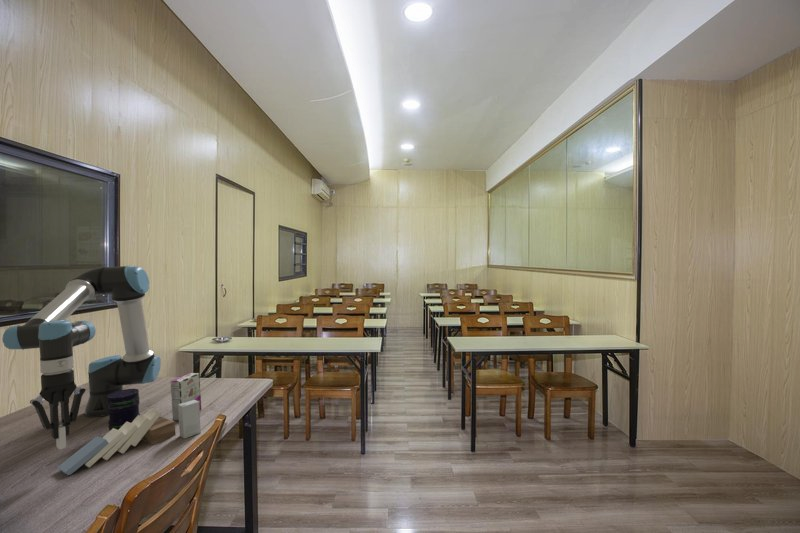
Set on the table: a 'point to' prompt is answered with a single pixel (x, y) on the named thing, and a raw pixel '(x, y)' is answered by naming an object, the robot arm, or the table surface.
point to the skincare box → (189, 418)
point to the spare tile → (82, 455)
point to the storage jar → (123, 407)
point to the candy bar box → (185, 392)
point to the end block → (160, 430)
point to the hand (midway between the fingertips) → (61, 447)
